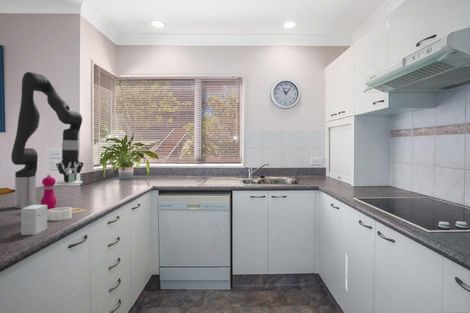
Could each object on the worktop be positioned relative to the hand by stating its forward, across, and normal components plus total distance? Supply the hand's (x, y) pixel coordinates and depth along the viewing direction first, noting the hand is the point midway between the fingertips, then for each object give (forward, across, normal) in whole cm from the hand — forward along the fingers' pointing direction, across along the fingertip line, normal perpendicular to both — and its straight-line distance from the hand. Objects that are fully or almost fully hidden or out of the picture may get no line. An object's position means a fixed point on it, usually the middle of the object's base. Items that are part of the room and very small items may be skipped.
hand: (69, 181), depth 145 cm
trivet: (+17, 0, 0) cm, 17 cm away
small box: (+17, +27, +20) cm, 38 cm away
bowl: (+16, +11, +10) cm, 22 cm away
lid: (+1, 0, 0) cm, 1 cm away
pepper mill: (+17, +4, -12) cm, 21 cm away
